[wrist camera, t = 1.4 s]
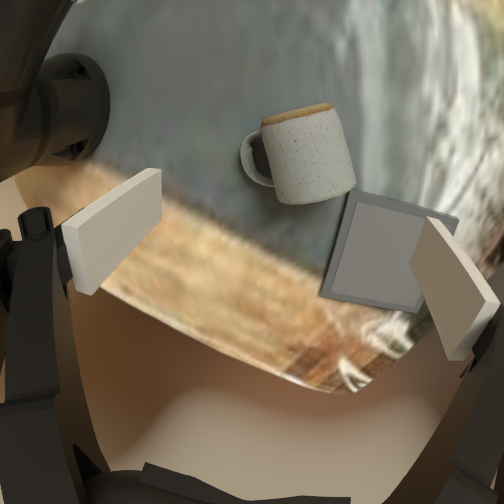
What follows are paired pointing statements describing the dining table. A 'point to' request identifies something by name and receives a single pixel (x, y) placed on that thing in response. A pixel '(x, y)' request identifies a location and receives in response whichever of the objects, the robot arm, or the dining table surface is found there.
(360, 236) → the trivet
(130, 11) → the dining table surface
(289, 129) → the ceramic mug
